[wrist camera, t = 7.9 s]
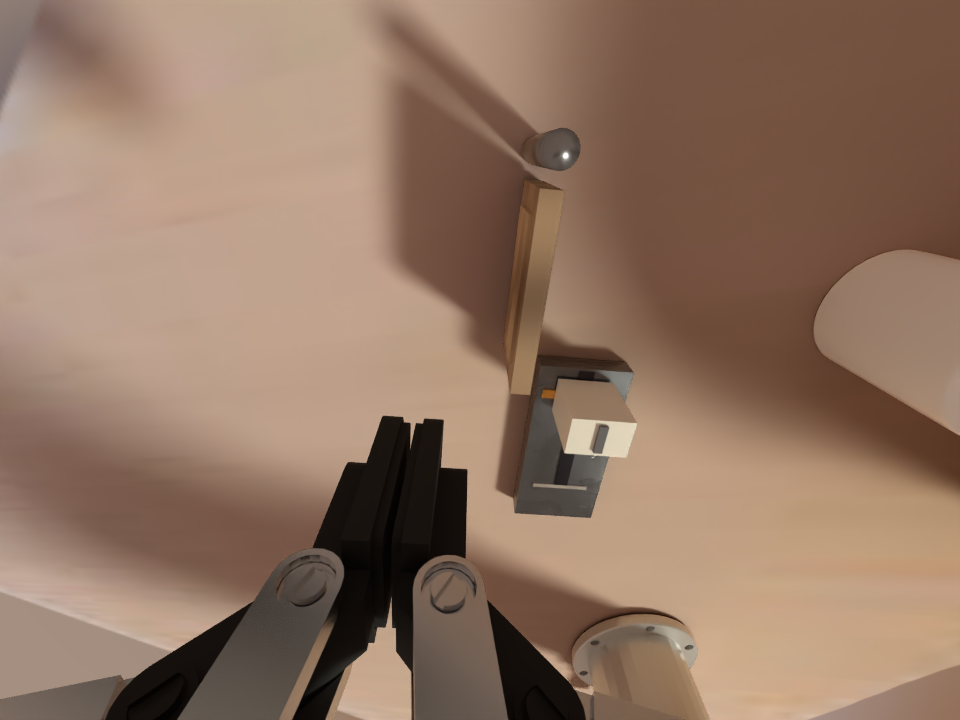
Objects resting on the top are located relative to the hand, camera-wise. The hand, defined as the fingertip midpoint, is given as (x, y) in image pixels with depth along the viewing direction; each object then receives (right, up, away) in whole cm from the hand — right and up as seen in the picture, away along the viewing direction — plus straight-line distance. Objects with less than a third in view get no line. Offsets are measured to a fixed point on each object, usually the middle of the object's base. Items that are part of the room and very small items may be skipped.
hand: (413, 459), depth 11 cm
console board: (+8, -3, +19) cm, 21 cm away
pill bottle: (+27, +6, +15) cm, 31 cm away
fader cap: (+9, 0, +15) cm, 17 cm away
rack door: (+4, +8, +12) cm, 15 cm away
